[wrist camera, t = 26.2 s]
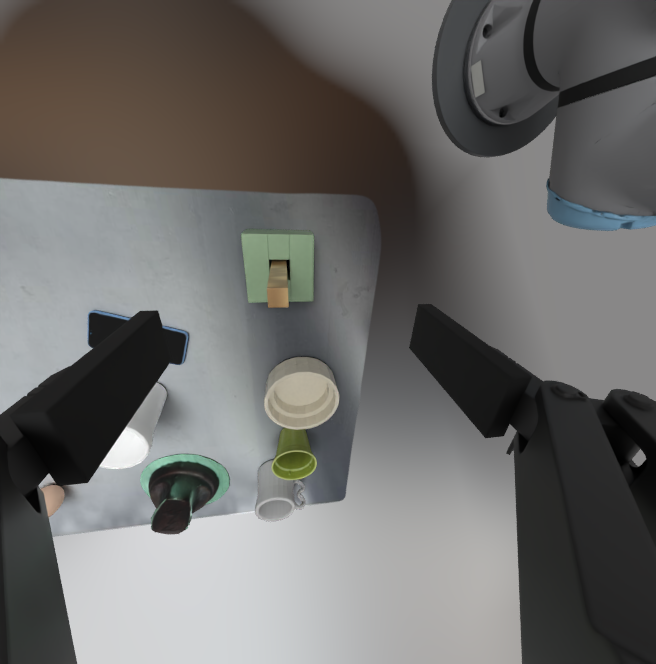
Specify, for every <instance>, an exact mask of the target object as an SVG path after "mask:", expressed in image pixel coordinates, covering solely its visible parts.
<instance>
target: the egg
mask: <svg viewBox="0 0 656 664" xmlns="http://www.w3.org/2000/svg"><path fill="white" fill-rule="evenodd" d="M41 490H42V492H43V493H44V497H45V502H46V507H47V512H48V518H49V517H50V516H51V515H53V514H54V513H55V512H56V511H57V510H58V508H59V507H60V506H61V504H62V502H63V500H64V496H65V495H64V490H63V489H62V487H60V486H57V485H50V486H46V487H44V488H41Z"/></svg>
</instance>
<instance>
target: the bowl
mask: <svg viewBox="0 0 656 664" xmlns="http://www.w3.org/2000/svg"><path fill="white" fill-rule="evenodd" d="M264 403H265V410H266V412H267V414H268V416H269V418H270V419H271V420H272V421H274V422H275V423H276V424H278V425H280V426H282V427H284V428H288V429H295V430H300V429H309V428H312V427H316V426H318V425H320V424H322V423H323V422H325V421H327V420H328V419H329V418H330V417H331V416H332V415H333V414H334V413H335V411H336V409H337V407H338V405H339V393H338V389H337V386H336V382H335V379H334V376H333V372H332V371H331V370H330V368H329V367H328V366H327V365H326V364H325V363H323V362H321V361H320V360H318V359H314V358H310V357H295V358H291V359H288V360H285V361H283V362H282V363H280V364H279V365H277V366H276V367H275V368H274V369H273V370H272V371H271V372H270V374H269V376H268V378H267V381H266V388H265V398H264Z"/></svg>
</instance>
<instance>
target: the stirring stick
mask: <svg viewBox="0 0 656 664" xmlns="http://www.w3.org/2000/svg"><path fill="white" fill-rule="evenodd" d="M267 299H268V308H276V307H289V303H288V280H287V262H286V260H272V262H271V268H270V273H269V279H268V285H267Z"/></svg>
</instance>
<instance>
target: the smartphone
mask: <svg viewBox="0 0 656 664" xmlns="http://www.w3.org/2000/svg"><path fill="white" fill-rule="evenodd" d="M129 319H131V318H127V317H123V316H119V315H114V314H110V313H106V312H101V311H96V310H93V311H91V312H89V314H88V345H89V346H90V347H91V348H94V347H96V346H97V345H98V344H99V343H101V342H102V341H103V340H104V339H106V338H107V337H108V336H109V335H111V334H112V333H113V332H114V331H116V330H117V329H118V328H119V327H121V326H122V325H123V324H124V323H126V322H127V321H128V320H129ZM162 327H163V331H164V334H165V338H166V341H167V345H168V348H169V352H170V356H171V359H172V360H171V362H170V364H175V365H181V364H182V363H183V362H184V359H185V354H186V348H187V343H188V333H187V332H185V331H182V330H178V329H174V328H170V327H166V326H162Z"/></svg>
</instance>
